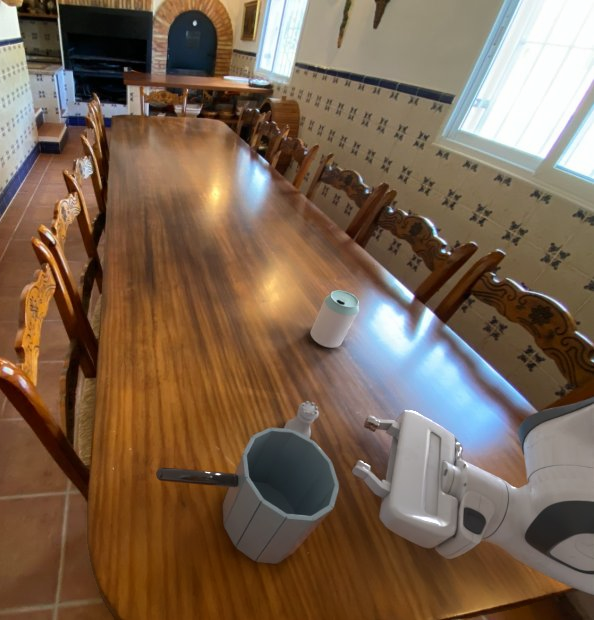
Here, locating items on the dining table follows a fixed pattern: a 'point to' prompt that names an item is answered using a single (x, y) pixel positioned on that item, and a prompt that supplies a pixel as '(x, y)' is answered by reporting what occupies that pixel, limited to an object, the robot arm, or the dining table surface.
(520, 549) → the robot arm
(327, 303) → the can
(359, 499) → the dining table surface
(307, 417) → the rook chess piece
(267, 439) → the pot
